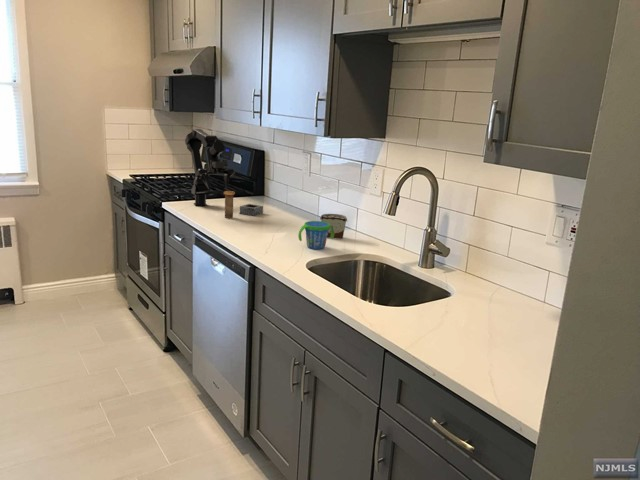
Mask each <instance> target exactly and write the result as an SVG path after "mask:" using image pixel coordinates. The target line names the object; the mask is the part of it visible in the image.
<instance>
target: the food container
mask: <svg viewBox="0 0 640 480" xmlns="http://www.w3.org/2000/svg"><path fill="white" fill-rule="evenodd" d="M319 221H322V222H326V223H329V224H330V225H331V226H332V227H333V228H334V238H333V239H335V238H336V239H337V240H343V239H344V235H345V228H346V222H348V218H347V216H346V215H343V214H338V213H324V214H322V215H321V216H320V218H319ZM327 239H331V227H330V228H329V230H328V235H327Z"/></svg>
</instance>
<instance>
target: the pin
mask: <svg viewBox="0 0 640 480" xmlns="http://www.w3.org/2000/svg"><path fill="white" fill-rule="evenodd" d="M235 194H236V192H235V191H233V190H224V191H223V195H224V219H233V218H234V195H235Z"/></svg>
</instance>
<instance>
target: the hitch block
mask: <svg viewBox="0 0 640 480" xmlns="http://www.w3.org/2000/svg"><path fill="white" fill-rule="evenodd" d="M262 214H264V206H263V205H259V204H252V203H246V204H243V205H239V215H244V216H245V215H246V216H250V217H257V216H260V215H262Z"/></svg>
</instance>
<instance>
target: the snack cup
mask: <svg viewBox="0 0 640 480" xmlns="http://www.w3.org/2000/svg"><path fill="white" fill-rule="evenodd" d="M330 227H331V238H330V239H335V238H334V228H333V227H332V226H331V225H330V224H329V223H326V222H322V221H321V220H310V221H306V222H304V225H302V226H301V227H300V228H299V232H298V240H299V241H300V242H302V233H303V231H304V230H305V241H306V246H307V248H309V249H312V250H323V249H324V248H326V243H327V239H328V238H327V235H328V230H329V228H330Z"/></svg>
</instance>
